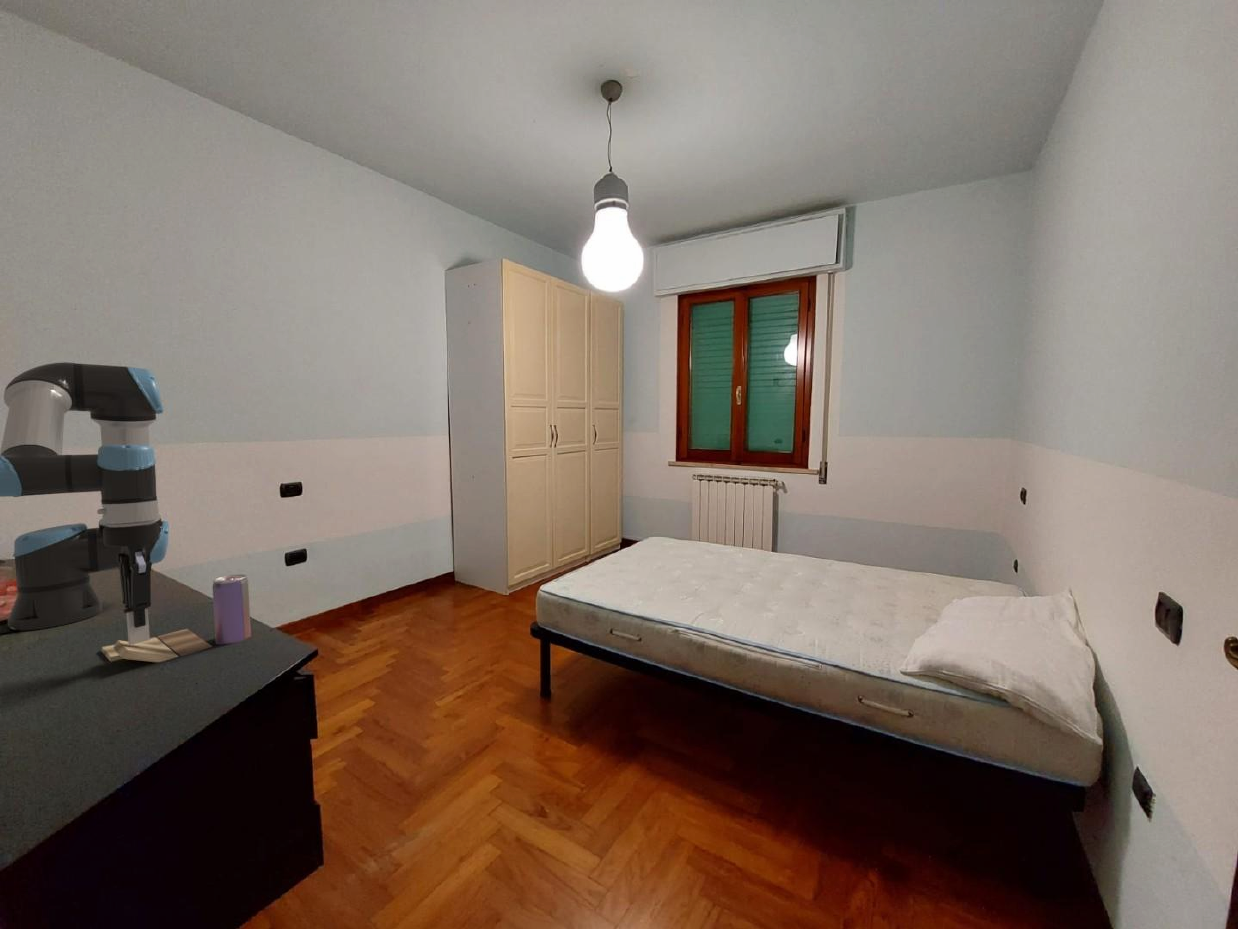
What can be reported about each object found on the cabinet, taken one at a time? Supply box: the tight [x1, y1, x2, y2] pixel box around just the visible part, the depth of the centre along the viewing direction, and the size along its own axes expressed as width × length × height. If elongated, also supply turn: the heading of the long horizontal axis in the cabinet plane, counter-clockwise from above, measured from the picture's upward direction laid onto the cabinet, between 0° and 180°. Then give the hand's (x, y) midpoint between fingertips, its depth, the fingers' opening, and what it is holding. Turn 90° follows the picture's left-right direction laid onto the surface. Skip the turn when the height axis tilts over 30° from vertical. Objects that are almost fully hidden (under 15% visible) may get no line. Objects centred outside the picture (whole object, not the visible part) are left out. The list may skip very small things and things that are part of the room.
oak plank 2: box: [113, 639, 179, 663], centre depth 92 cm, size 8×8×2 cm
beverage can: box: [212, 573, 252, 645], centre depth 101 cm, size 6×6×15 cm
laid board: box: [156, 628, 213, 657], centre depth 100 cm, size 17×5×2 cm, turn 57°
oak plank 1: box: [101, 636, 167, 663], centre depth 97 cm, size 8×8×2 cm
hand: (139, 641), depth 91 cm, fingers closed
